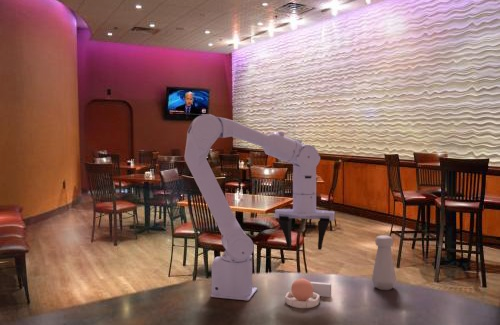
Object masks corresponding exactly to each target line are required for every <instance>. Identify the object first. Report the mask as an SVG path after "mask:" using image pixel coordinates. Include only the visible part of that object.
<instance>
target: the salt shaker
mask: <svg viewBox="0 0 500 325" xmlns="http://www.w3.org/2000/svg"><path fill="white" fill-rule="evenodd" d="M375 245H376V246H377V249H376V255H375V260H374V264H373V270H372V274H371V279H372V282H373V284H374V287H375V289H378V290H380V291H390V290H392V289H393V288H394V287H395V286H394V285H395V284H396V281H397V276H396V270H395V266H394V259H393V253H392V247H394V239H393V237H392V236H390V235H386V234H385V235H384V234H383V235H377V236H376V237H375Z"/></svg>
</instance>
